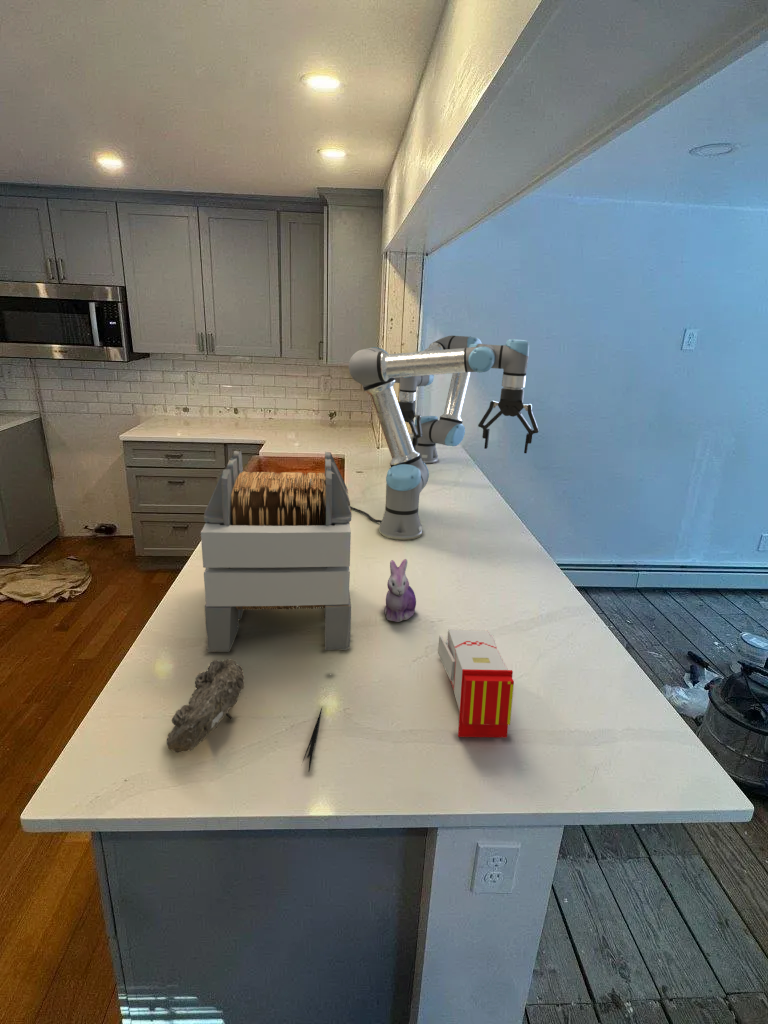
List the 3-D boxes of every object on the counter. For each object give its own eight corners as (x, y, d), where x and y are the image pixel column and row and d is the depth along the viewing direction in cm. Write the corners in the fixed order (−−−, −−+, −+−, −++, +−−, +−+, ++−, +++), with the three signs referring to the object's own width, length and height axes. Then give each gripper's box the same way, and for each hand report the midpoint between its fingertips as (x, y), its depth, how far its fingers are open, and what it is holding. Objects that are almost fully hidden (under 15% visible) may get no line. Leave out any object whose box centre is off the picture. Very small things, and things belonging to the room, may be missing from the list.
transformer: (227, 584, 158) (219, 441, 145) (344, 583, 162) (347, 443, 148) (205, 654, 127) (191, 480, 113) (351, 650, 130) (355, 481, 117)
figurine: (392, 627, 141) (395, 572, 136) (374, 608, 149) (376, 556, 144) (425, 619, 145) (429, 566, 140) (405, 601, 154) (408, 550, 149)
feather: (331, 679, 122) (336, 673, 122) (307, 777, 96) (313, 769, 95) (324, 675, 122) (329, 669, 121) (298, 772, 95) (304, 764, 95)
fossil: (192, 660, 117) (244, 628, 112) (224, 691, 120) (276, 661, 115) (142, 746, 98) (202, 712, 93) (182, 779, 101) (242, 748, 96)
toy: (488, 613, 130) (523, 677, 101) (484, 667, 133) (517, 744, 104) (435, 612, 130) (455, 676, 101) (432, 666, 133) (451, 743, 103)
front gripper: (552, 389, 189) (543, 452, 196) (477, 383, 196) (472, 443, 203) (550, 392, 182) (541, 456, 189) (473, 386, 189) (467, 448, 197)
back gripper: (381, 399, 253) (379, 449, 260) (427, 404, 245) (423, 455, 253) (388, 397, 259) (385, 446, 267) (432, 402, 252) (428, 452, 260)
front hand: (505, 450), depth 196 cm, fingers open, 13 cm apart
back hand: (404, 450), depth 260 cm, fingers closed on canister, 8 cm apart
